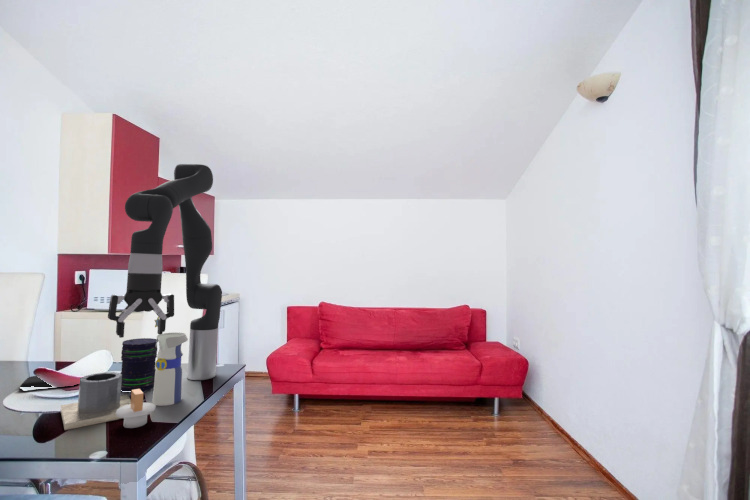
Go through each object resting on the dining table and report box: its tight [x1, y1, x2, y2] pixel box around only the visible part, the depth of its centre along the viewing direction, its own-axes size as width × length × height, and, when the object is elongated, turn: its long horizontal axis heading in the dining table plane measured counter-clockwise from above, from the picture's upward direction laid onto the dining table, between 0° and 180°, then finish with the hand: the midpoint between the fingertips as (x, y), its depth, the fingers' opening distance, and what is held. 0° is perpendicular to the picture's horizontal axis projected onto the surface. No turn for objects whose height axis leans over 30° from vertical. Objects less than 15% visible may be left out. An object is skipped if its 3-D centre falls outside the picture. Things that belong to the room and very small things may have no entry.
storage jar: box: [119, 337, 158, 393], centre depth 122 cm, size 10×10×15 cm
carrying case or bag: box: [19, 375, 52, 388], centre depth 122 cm, size 11×3×15 cm
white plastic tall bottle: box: [151, 316, 189, 406], centre depth 112 cm, size 8×9×25 cm
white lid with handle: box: [116, 389, 156, 429], centre depth 96 cm, size 8×8×8 cm
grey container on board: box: [60, 371, 131, 431], centre depth 101 cm, size 15×15×10 cm
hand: (140, 335), depth 96 cm, fingers open, 8 cm apart
